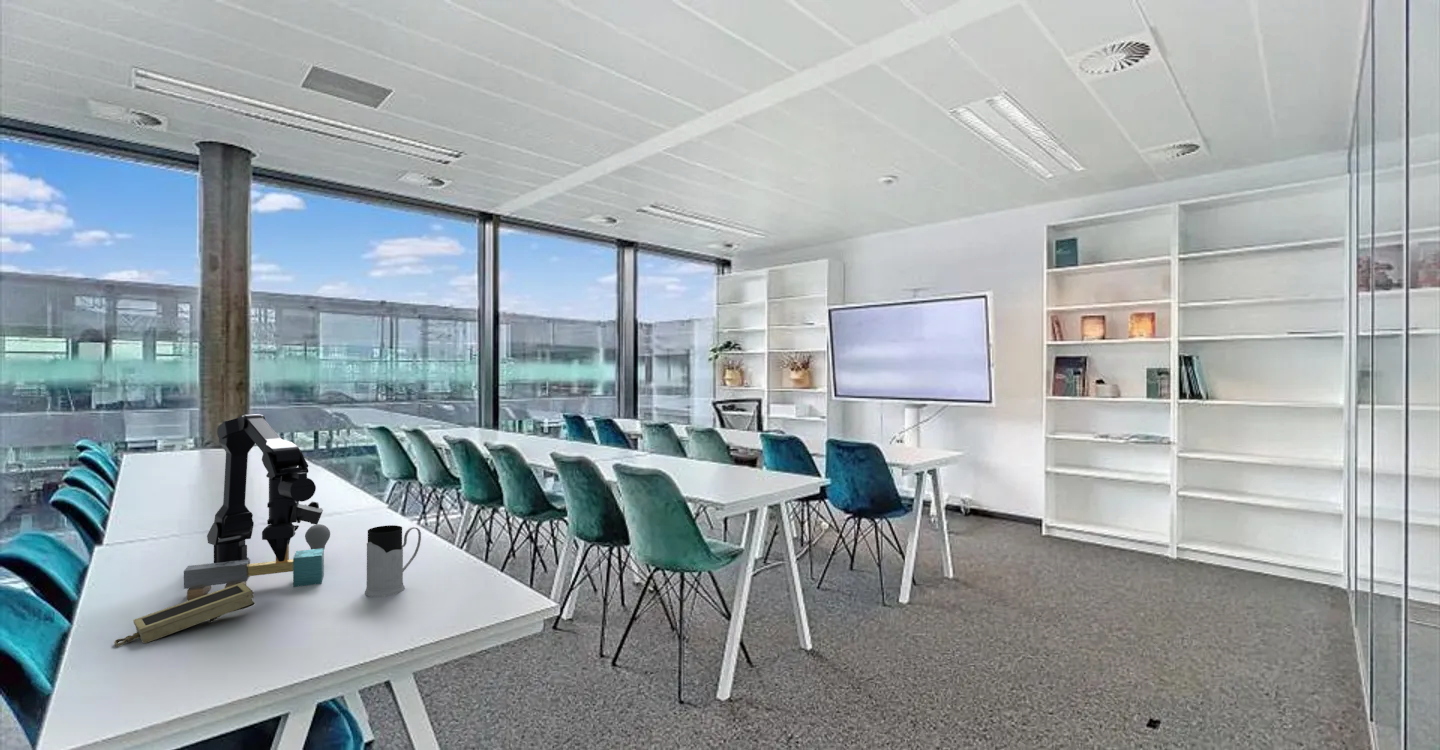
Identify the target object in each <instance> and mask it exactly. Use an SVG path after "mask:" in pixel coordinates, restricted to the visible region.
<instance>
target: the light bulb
mask: <svg viewBox="0 0 1440 750" xmlns="http://www.w3.org/2000/svg"><path fill="white" fill-rule="evenodd" d="M330 537H331V531H330V528H329V527H327V526H326V525H324V524H319V523H318V524H313V525H311V526H310V527H309V528H308V529H307V530H306V532H305V534H304V538H305V542H306V543H307V545H309V547H310V550H311V549H321V548H324V550H325V549H326V545H327V543H328V541H329V540H330Z"/></svg>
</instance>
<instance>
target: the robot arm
mask: <svg viewBox="0 0 1440 750" xmlns="http://www.w3.org/2000/svg"><path fill="white" fill-rule="evenodd" d="M216 435H217V437H218V444H220V445H219V446H221V447H222V448H223V450H224V451H225V463H224V464H225V465H224V482H223V485H224V486H223V501H222V505H221V506H220V508H219V509H218V510H217V512H216V513H215V515H214V521H213V523H212V525H211V526H210V529H209V530H208V533H207V534H206V539H207V544H209V545H212V546H213V563H220V562H229V561H239V560H248V559H250V558H249V557H248V545H247V544H246V540H251V539H252V535H253V530H254V525H255V524H254V519H253V516H254V515H253V512H251V511H250V510H249V509H248V507H247V506H246V494H247V493H246V492H247V491H246V490H247V475H248V473H247V472H248V456H249V455H248V454H249V452H251V450H252V449H253V447H254V446H255V445H256V446H257V447H258V448H259V449H260V451H261V452H262V458H261V461H262V464H263V467H264V468H265V469H266V472H267V473H266V478H268V502H267V507H266V508H268V519H267V520H266V521H267V522H266V525H267V526H266V527H264V529H263V530H262V532H261V540H263V541H266V542H267V543H268V545H269V546H270V548H271V550H272V552H273V553H274V555H275V558H276V557H277V559H278V561H279V562H281V561H284V559H285V555H286V550H287V545H288V544H289V545H290V543H291V539H292V538H293V537H295V535H296V531H297V530H298V529H299V527H300V525H297V524H300V523H301V522H306V523H310V524H311V525H317V524H319V522H320V519H321V517H322V514H323V512H324V509H323V508H322V507H320V505H319V502H317V501H313V500H311V501H310V503H308V504H300V502H306V501H309V500H310V499H312V497H313V496H314V495H315V493H316V490H317V487H316V484H315V482H314V480H312V479H311V478H309V477H308V473H309V468H308V467H309V464H308V462H307V460H306V458H305V457H304V454H303V451H302V450H301V449H300V447H299V446H298V445H297V444H295V443H294V442H292V441H289V440H286V439H282V437H280V436H279V434H278V433H277V432H276V431H275V430H274V429H273V428H272V426H271V425H270V424H269V423H268V422H267V421H266V417H265V415H263V414H260V413H256V414H254V413H252V414H251V413H250V414H243V415H239V416H238V417H237V418H233V419H229V420H223V422H222V423H220V424H219V425H218V427H217V430H216ZM294 523H296V525H294Z"/></svg>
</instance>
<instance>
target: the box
mask: <svg viewBox="0 0 1440 750" xmlns="http://www.w3.org/2000/svg"><path fill="white" fill-rule="evenodd" d="M254 593H255V592H254V591H253V589H251V588H250V587H249V586H247V584H246V585H245V584H244V583H239V584H236V585H233V586H230V587H227V588H225V587H224V588H222V589H219V590H217V591H213V592H211V593H210V592H209V593H207V595H204V596H201V597H198V598H195V599H192V600H189V601H187V600H186V601H183V602H180V603H178V604H174V605H173V606H168V607H167V608H162V609H161V610H158V611H154V612H152V613H149V614H146V615H142V616H140V617H138V618H135V619H133V624H134V626H135V629H136V632H135V633H133V634H132V635H127V636H125V637H124V638H122V637H121V638H116V639H115V640H114V641H113V643H114V646H115V647H116V648H119V647H122V646H123V645H124V644H126V643H131V642H133V641H135V640H137V639H140V641H141V642H142V643H143V644H147V643H149V642H152V641H155V640H156V641H157V640H158V639H161V638H163V637H166V636H169V635H172V634H174V633H177V632H180V631H182V630H185V629H187V628H190V627H194V626H195V625H198V624H201V623H204V622H207V621H208V624H211V623H212V622H214V621H215V620H217V619H219V618H220V617H222V616H224V615H227V614H229V613H233V612H237V611H241V610H244V609H248V608H251V607H252V606H255V605H256V602H255V601H253V599H254Z"/></svg>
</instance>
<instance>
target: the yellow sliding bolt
mask: <svg viewBox="0 0 1440 750" xmlns="http://www.w3.org/2000/svg"><path fill="white" fill-rule="evenodd" d="M289 572H293V558H292V559H290V543H289V544H288V545H287V550H286V555H285V559H284V561H281V562H279V561H278V559H277V557H276V556H275V560H273V561H265V562H256V563H255V562H254V563H250V564H248V565H247V577H248V576H250V577H255V576H264V575H272V574H279V573H280V574H281V573H289Z"/></svg>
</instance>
